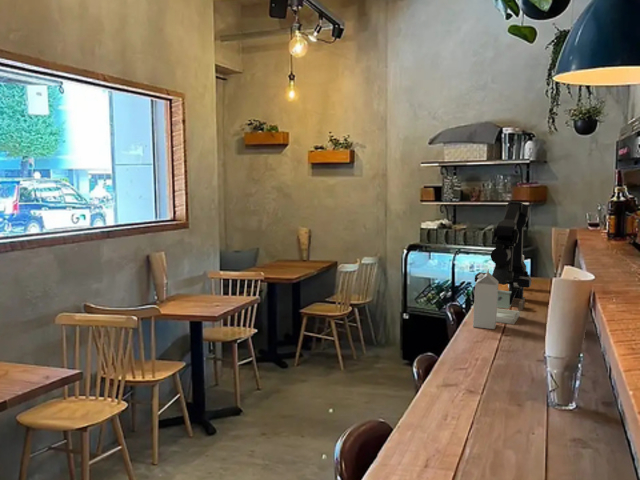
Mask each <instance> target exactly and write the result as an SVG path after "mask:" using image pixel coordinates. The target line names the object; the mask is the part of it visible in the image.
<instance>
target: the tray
mask: <svg viewBox="0 0 640 480" xmlns="http://www.w3.org/2000/svg"><path fill="white" fill-rule="evenodd" d="M520 313H521V311H519V310H512V309H506V308H498V307H497V315H496V323H501V324H506V325H507V324H508V325H515V323H516V322H517V321H518V320H519V318H520Z"/></svg>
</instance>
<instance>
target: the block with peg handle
mask: <svg viewBox="0 0 640 480" xmlns="http://www.w3.org/2000/svg"><path fill="white" fill-rule="evenodd" d="M510 297H511V291H509V290H501V289H498V299H497V308H498V309H506V310H510V308H511V307H512V306H511V305H512V304H511V305H510Z"/></svg>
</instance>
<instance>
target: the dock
mask: <svg viewBox="0 0 640 480" xmlns="http://www.w3.org/2000/svg"><path fill="white" fill-rule="evenodd" d="M525 299H526V298H525ZM525 299H516V298H514V299H513V301H512V305H511V306H510V307H516V308H518V310H517V311H520V312H522V311H523V310H524V309H525V305H526V303H525V302H526V301H525Z"/></svg>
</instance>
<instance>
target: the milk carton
mask: <svg viewBox="0 0 640 480" xmlns="http://www.w3.org/2000/svg"><path fill="white" fill-rule="evenodd" d="M489 270H490V268H488V269H487V271H486V272H485V273H486V274H485V275H483V274H480V275H479V276H477V278H478V280H477V282H475V286H474V299H473V301H474V302H473V303H474V304H473V317H472V318H473V319H472V328H479V329H480V328H482V329H488V330H495V329H496V325H497V322H496V315H497V308H498V307H497V299H498V290H499V285H500V284H499V282H498V281H497V280H496V279H495V278H494V277H493V276H492V274H491V272H489Z"/></svg>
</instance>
